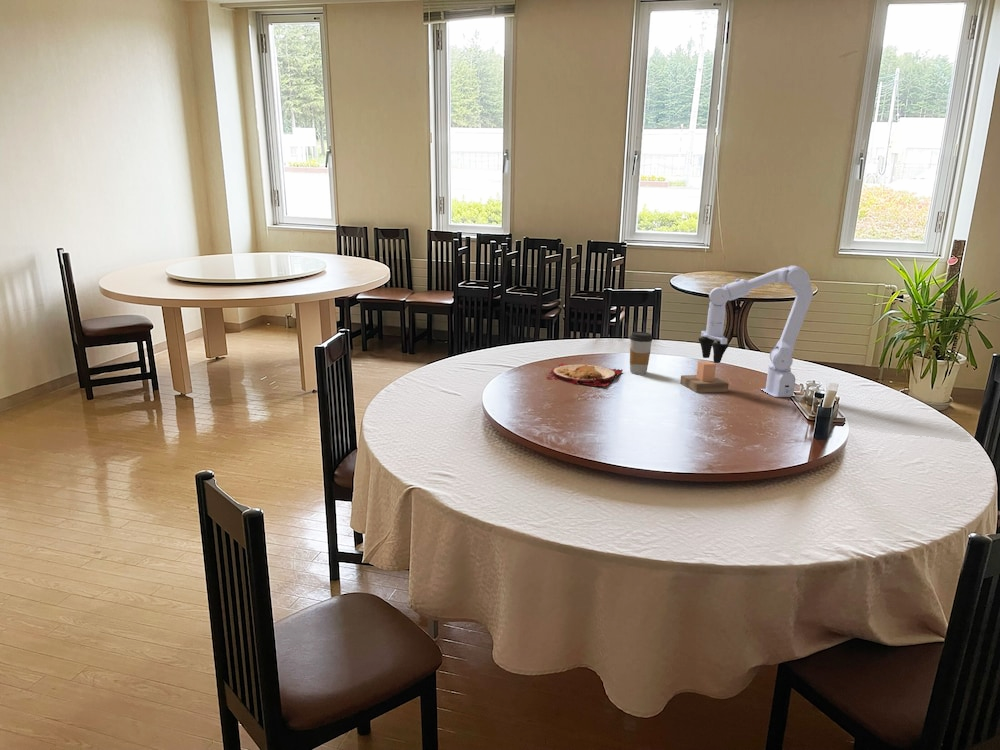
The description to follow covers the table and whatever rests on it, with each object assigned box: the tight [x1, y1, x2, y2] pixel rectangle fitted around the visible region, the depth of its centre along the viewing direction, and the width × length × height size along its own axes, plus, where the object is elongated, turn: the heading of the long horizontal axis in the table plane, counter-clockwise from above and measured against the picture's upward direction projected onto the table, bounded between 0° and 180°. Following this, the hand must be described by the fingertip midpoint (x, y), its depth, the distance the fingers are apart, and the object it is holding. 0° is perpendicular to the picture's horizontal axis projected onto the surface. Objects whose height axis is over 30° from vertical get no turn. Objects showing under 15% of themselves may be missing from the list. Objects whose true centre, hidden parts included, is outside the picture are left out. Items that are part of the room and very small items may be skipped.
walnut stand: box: [680, 374, 730, 393], centre depth 251 cm, size 12×12×3 cm
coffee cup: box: [629, 331, 653, 375], centre depth 267 cm, size 8×8×15 cm
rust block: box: [696, 360, 717, 381], centre depth 250 cm, size 4×4×6 cm
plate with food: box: [545, 363, 623, 388], centre depth 260 cm, size 25×26×4 cm
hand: (711, 360), depth 250 cm, fingers open, 7 cm apart
